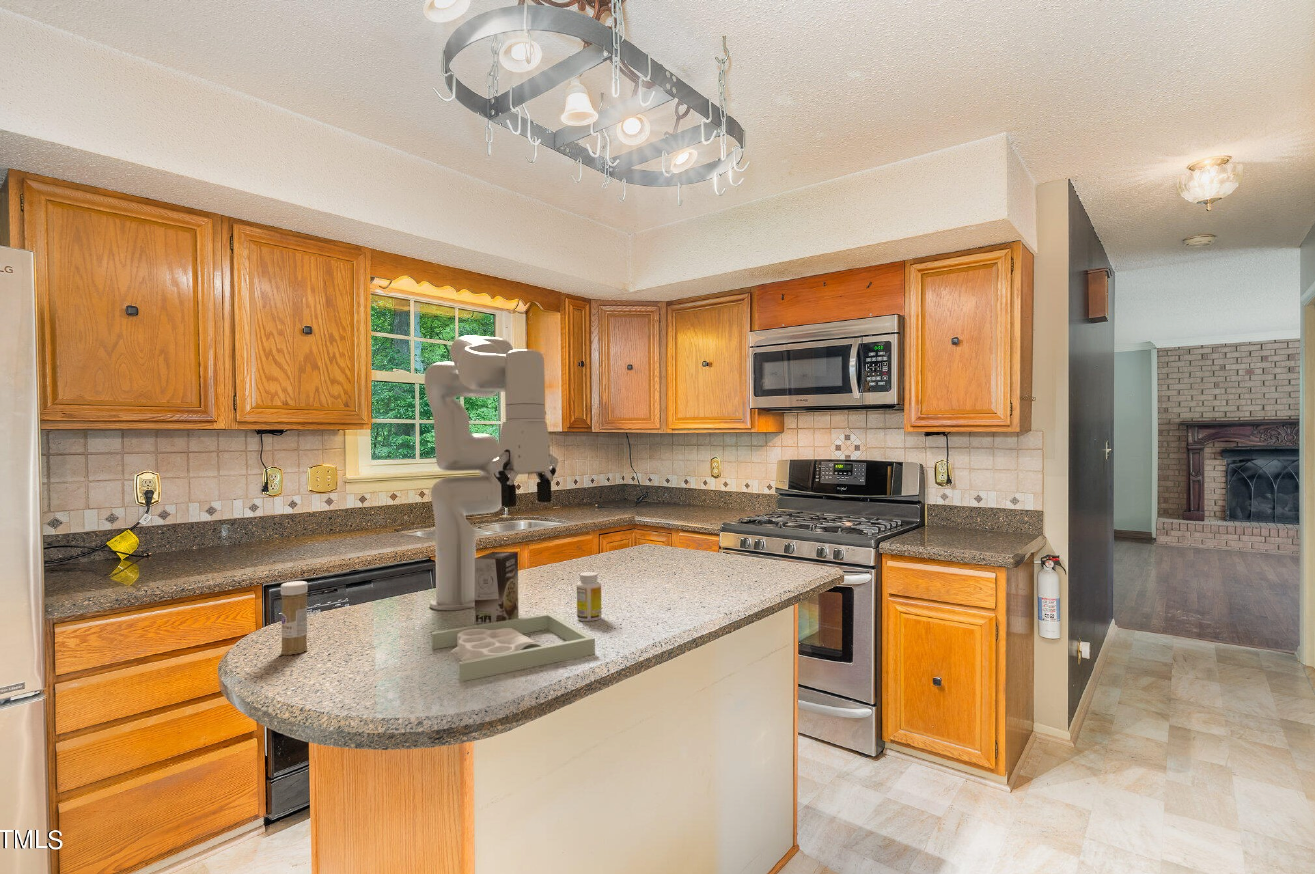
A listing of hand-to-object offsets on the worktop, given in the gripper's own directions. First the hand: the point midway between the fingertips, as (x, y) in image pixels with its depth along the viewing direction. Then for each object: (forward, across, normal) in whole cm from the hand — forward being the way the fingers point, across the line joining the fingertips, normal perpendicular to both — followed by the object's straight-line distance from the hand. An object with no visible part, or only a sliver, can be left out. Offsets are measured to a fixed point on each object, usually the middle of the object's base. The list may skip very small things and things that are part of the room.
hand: (527, 504), depth 124 cm
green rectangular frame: (+28, 0, -4) cm, 29 cm away
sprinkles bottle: (+28, +22, -40) cm, 54 cm away
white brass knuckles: (+29, +4, -6) cm, 30 cm away
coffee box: (+28, -8, -17) cm, 34 cm away
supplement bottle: (+28, -25, -5) cm, 38 cm away
